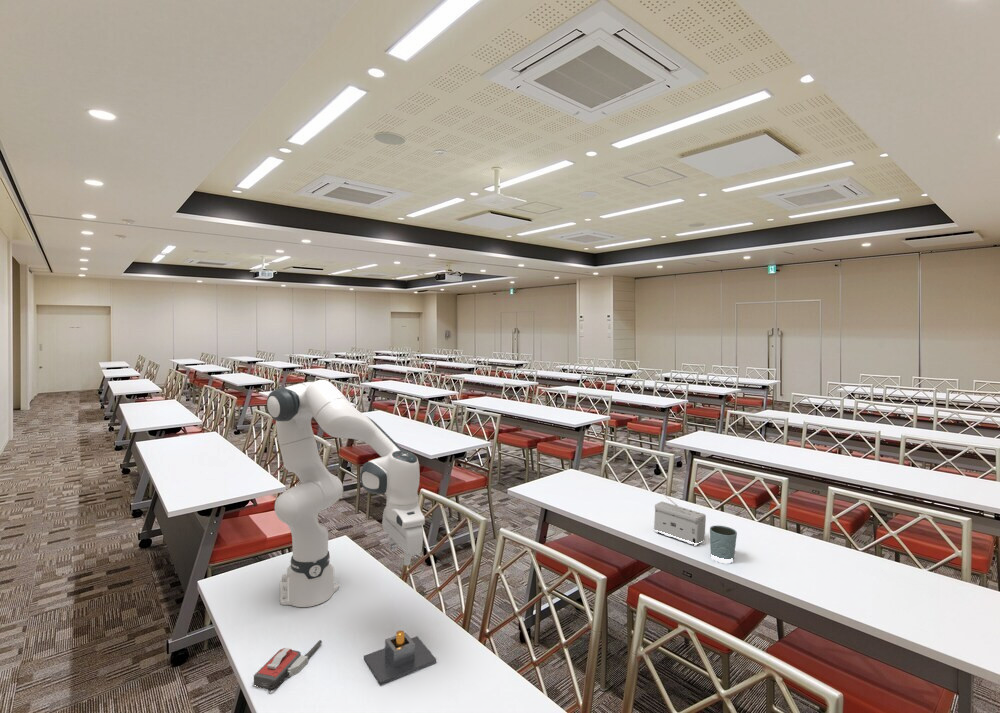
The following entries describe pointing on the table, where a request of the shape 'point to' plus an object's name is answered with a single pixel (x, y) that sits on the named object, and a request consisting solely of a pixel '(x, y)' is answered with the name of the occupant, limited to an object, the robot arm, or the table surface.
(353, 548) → the table surface
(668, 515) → the stereo radio cassette player
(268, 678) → the walkie-talkie
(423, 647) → the base
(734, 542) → the grey green cup
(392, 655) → the hollow square tube
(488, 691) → the table surface
